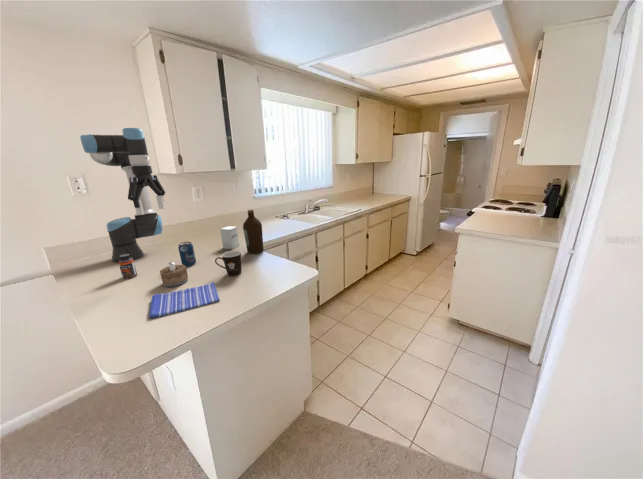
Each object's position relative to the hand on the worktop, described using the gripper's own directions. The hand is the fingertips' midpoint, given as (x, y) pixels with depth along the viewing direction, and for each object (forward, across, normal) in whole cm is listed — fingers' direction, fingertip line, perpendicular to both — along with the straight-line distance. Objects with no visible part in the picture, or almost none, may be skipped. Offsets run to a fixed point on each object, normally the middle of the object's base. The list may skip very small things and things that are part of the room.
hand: (151, 211), depth 125 cm
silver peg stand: (+31, -12, -14) cm, 36 cm away
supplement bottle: (+31, -7, +14) cm, 35 cm away
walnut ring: (+29, -12, -14) cm, 34 cm away
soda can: (+31, +9, -7) cm, 33 cm away
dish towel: (+31, -27, -29) cm, 50 cm away
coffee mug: (+31, -1, -36) cm, 47 cm away
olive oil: (+31, +30, -36) cm, 56 cm away
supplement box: (+31, +38, -17) cm, 52 cm away
